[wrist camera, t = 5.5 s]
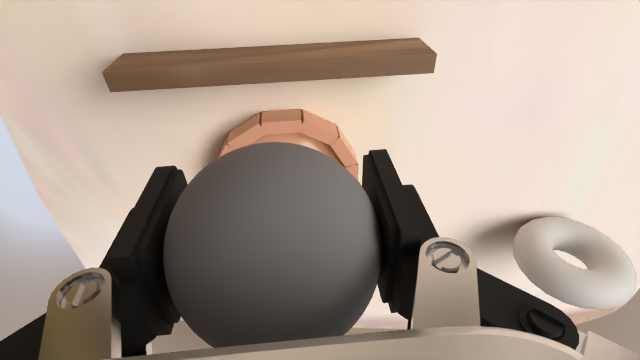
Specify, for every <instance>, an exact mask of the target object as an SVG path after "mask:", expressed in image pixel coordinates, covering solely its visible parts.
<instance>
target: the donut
mask: <svg viewBox="0 0 640 360" xmlns="http://www.w3.org/2000/svg"><path fill="white" fill-rule="evenodd" d="M554 250H560V251H564V252H567V253H569V254H571V255H573V256H575V257H576V258H578V259H579V260H581V261H582V262H583V263H584V264H585V265H586V266H587V268H588V269H589V270H587V269H581V268H578V267H575V266H573V265H571V264H569V263H567V262H566V261H564V260H563V259H561V258H560V257H559V256H558V255H557V254H556V253H555V252H554ZM513 253H514V257H515V259H516V261H517V263H518V266H519V268H520V269H521V271H522V272H523V273H524V274H525V275H526V276H527V278H528V279H529V280H530V281H531V282H532V283H533V284H535V285H536V286H537V287H539V288H540V289H541V290H542V291H544V292H545V293H546V294H548V295H550V296H552V297H554V298H556V299H558V300H560V301H562V302H564V303H567V304H570V305H574V306H577V307H580V308H584V309H599V310H602V309H608V308H612V307H615V306H619V305H621V304H623V303H625V302H626V301H627V300H628V299H629V298H630V297H631V296H632V295H633V293H634V292H635V289H636V282H637V273H636V271H635V268H634V266H633V263H632V261H631V259H630V258H629V257H628V255H627V254H626V253H625V252H624V250H623V249H622V248H621V247H620V246H619V245H618V244H617V243H615V242H614V241H613V240H612V239H611V238H609V237H608V236H607V235H605V234H603V233H602V232H600V231H598V230H596V229H595V228H593V227H590V226H588V225H586V224H583V223H581V222H578V221H574V220H570V219H566V218H559V217H543V218H538V219H533V220H531V221H529V222H528V223H526V224H524V225H523V226H521V227H520V228H519V230H518V232H517V233H516V235H515V237H514V240H513Z"/></svg>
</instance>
